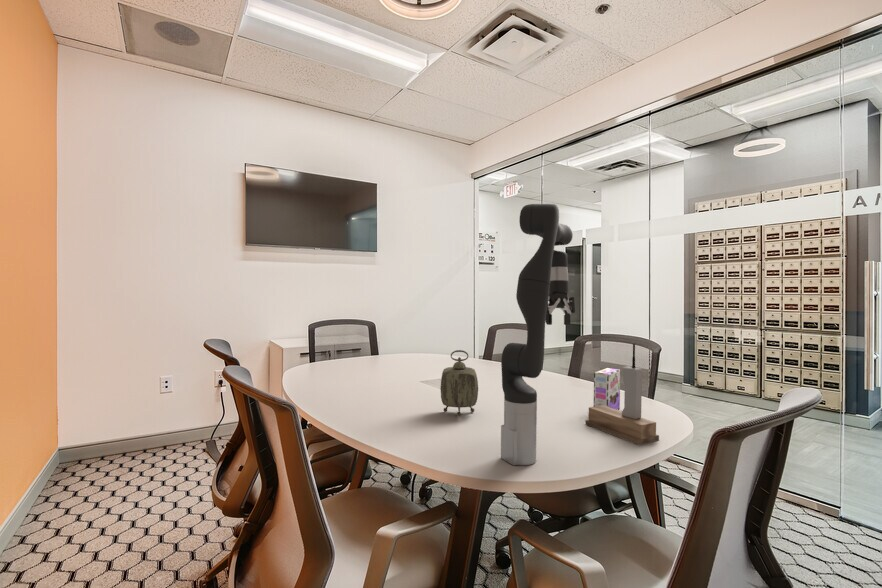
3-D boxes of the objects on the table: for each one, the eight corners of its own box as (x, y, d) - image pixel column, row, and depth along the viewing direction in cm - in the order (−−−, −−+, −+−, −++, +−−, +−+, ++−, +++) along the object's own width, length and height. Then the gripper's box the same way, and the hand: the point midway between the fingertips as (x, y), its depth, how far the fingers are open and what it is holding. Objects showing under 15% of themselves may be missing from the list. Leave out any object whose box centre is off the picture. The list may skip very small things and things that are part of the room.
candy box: (607, 416, 162) (608, 373, 162) (592, 412, 166) (593, 371, 166) (620, 408, 172) (620, 369, 172) (606, 406, 176) (606, 367, 176)
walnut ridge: (638, 444, 132) (638, 425, 132) (585, 424, 151) (585, 407, 151) (658, 439, 136) (659, 421, 136) (605, 420, 156) (605, 404, 156)
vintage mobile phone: (626, 414, 144) (627, 342, 144) (641, 417, 140) (642, 343, 140) (621, 416, 142) (622, 342, 141) (635, 419, 138) (636, 344, 137)
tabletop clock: (476, 411, 166) (477, 349, 166) (478, 418, 157) (478, 352, 157) (440, 410, 167) (441, 348, 167) (440, 417, 158) (440, 351, 158)
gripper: (549, 278, 145) (550, 324, 144) (579, 280, 152) (580, 325, 151) (535, 280, 152) (536, 324, 151) (564, 282, 158) (565, 324, 157)
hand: (558, 324), depth 151 cm, fingers open, 8 cm apart
